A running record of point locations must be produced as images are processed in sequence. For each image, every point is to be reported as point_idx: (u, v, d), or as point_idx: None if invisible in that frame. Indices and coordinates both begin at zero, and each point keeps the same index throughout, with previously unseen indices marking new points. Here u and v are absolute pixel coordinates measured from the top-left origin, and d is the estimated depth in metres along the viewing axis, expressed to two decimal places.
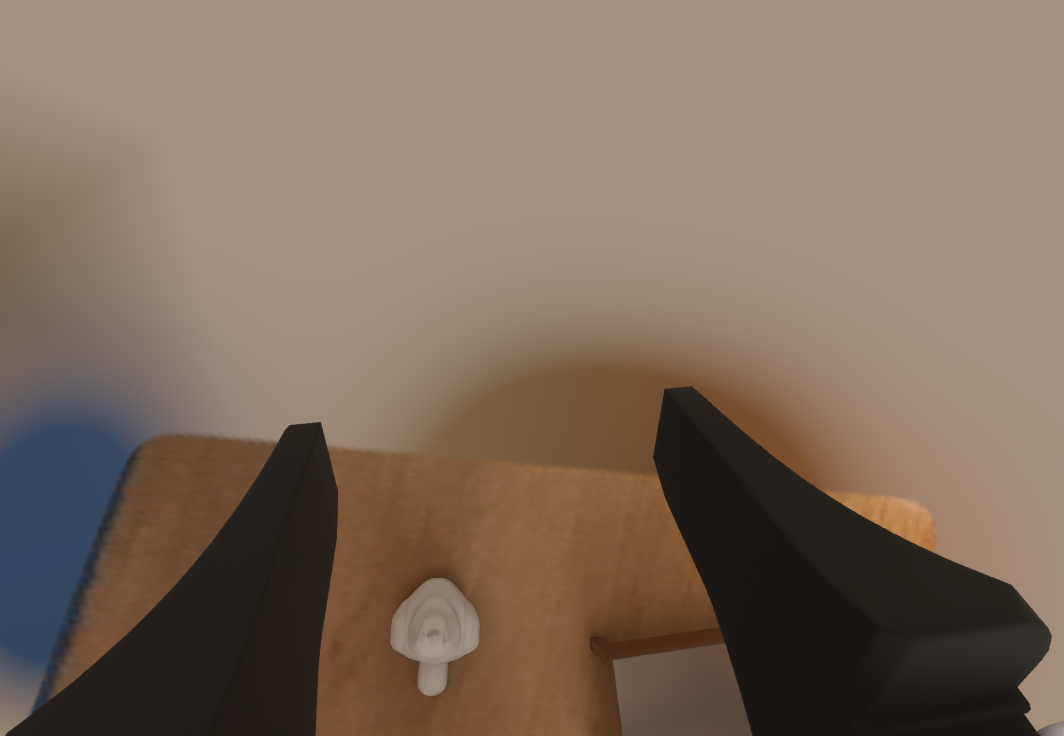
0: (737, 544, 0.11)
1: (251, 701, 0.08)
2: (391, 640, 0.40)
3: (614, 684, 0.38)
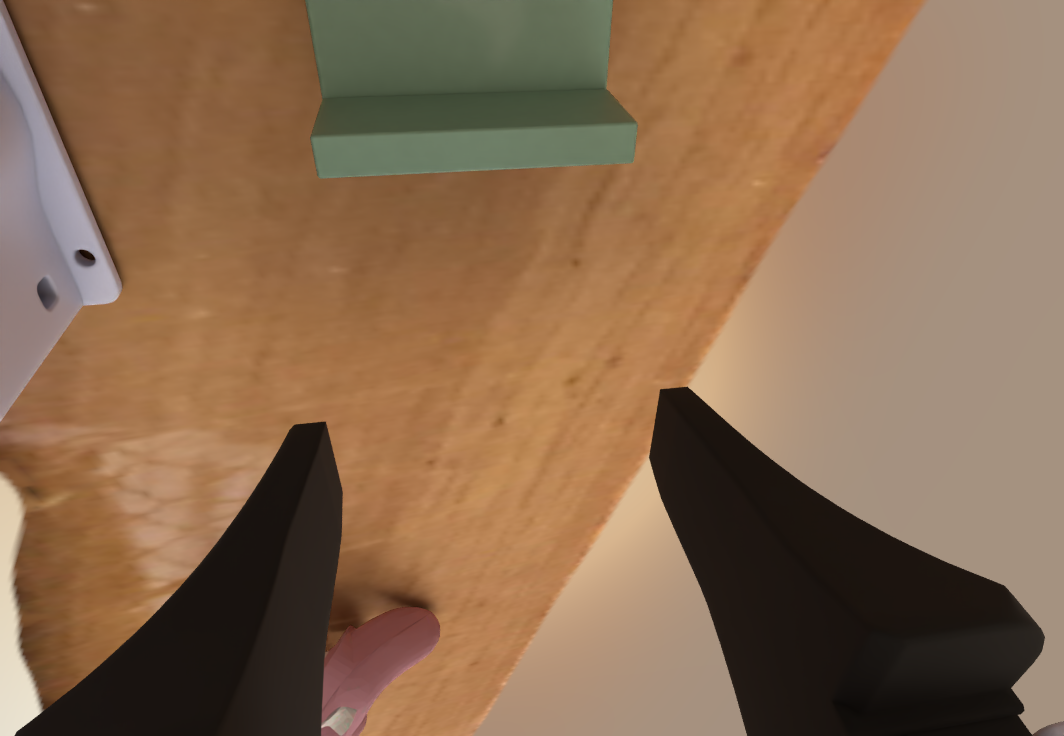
0: (732, 545, 0.11)
1: (259, 700, 0.08)
2: None
3: None
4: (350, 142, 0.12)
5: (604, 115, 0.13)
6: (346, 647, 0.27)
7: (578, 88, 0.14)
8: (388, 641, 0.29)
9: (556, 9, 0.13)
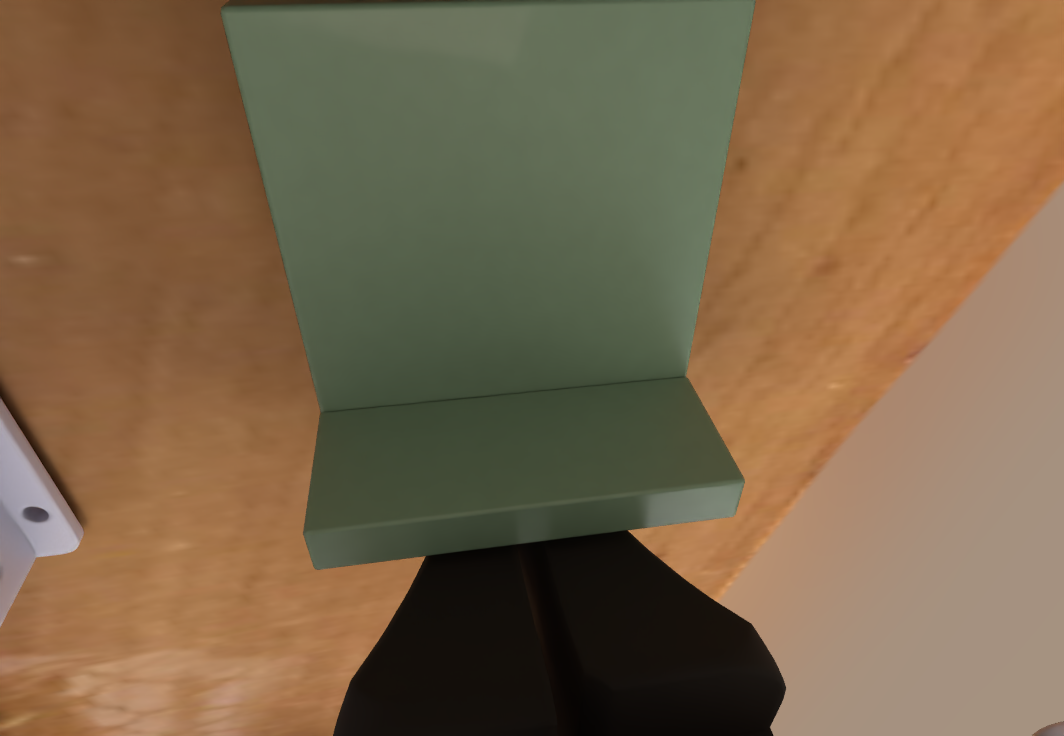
0: (537, 570, 0.11)
1: None
2: None
3: None
4: (358, 534, 0.09)
5: (695, 456, 0.10)
6: None
7: (651, 377, 0.11)
8: None
9: (628, 302, 0.10)
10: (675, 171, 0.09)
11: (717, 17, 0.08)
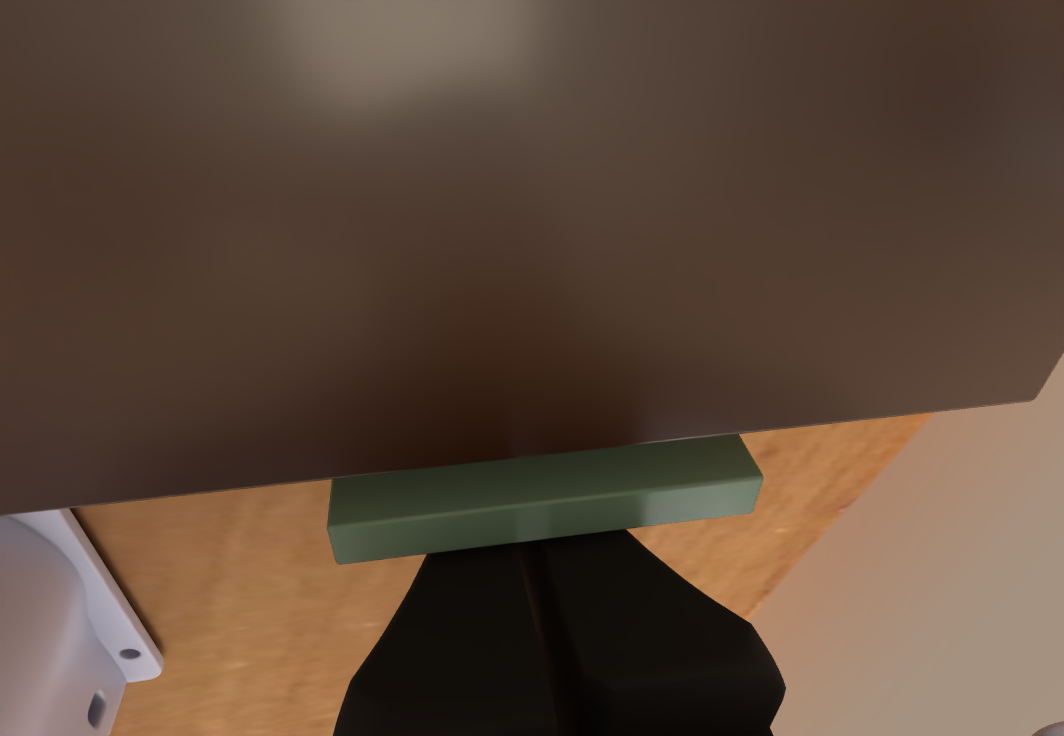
0: (536, 570, 0.11)
1: None
2: None
3: None
4: (381, 529, 0.09)
5: (714, 453, 0.10)
6: None
7: None
8: None
9: None
10: None
11: None
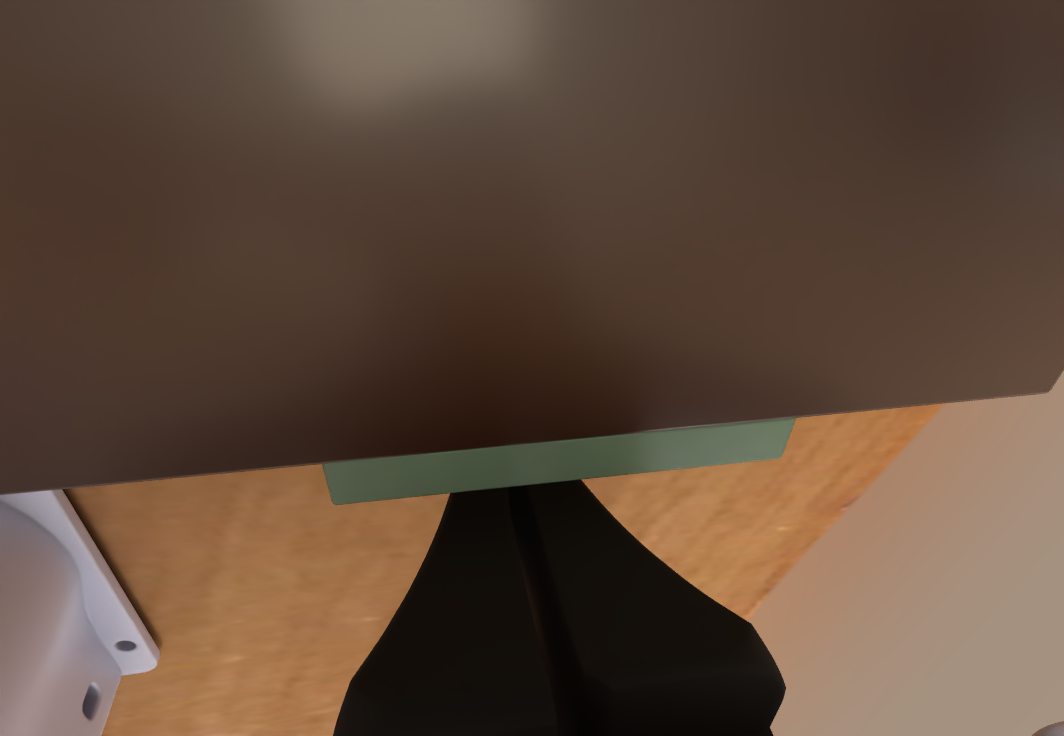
0: (536, 570, 0.11)
1: None
2: None
3: None
4: (381, 465, 0.08)
5: None
6: None
7: None
8: None
9: None
10: None
11: None
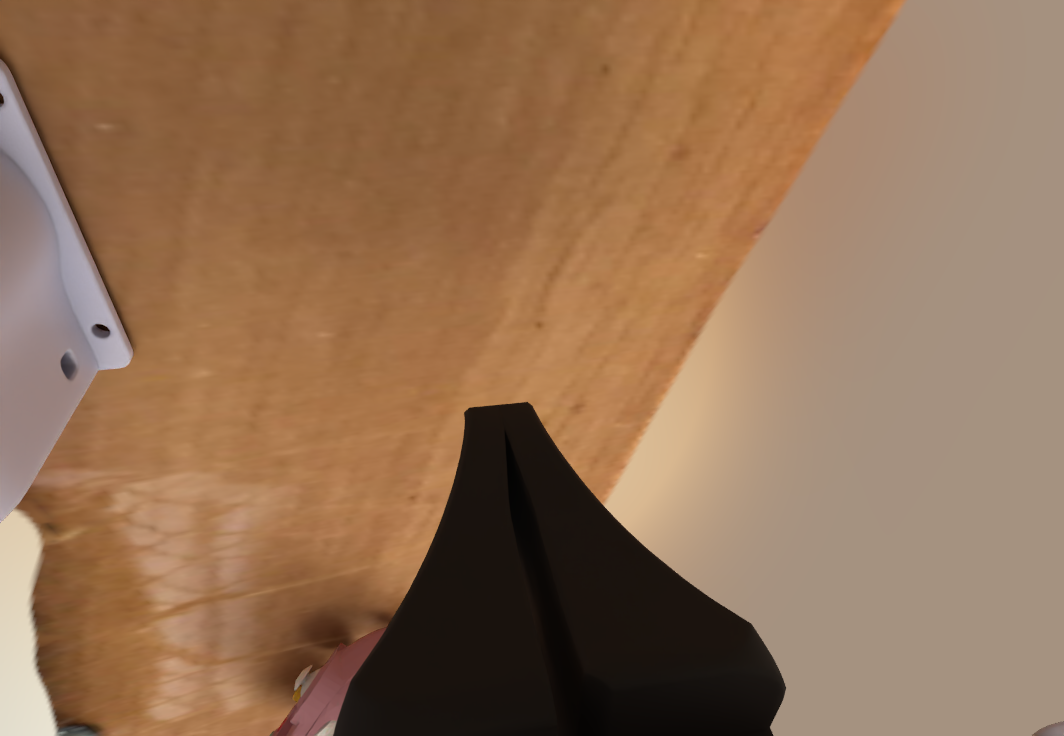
0: (536, 570, 0.11)
1: None
2: None
3: None
4: None
5: None
6: (336, 665, 0.30)
7: None
8: None
9: None
10: None
11: None
